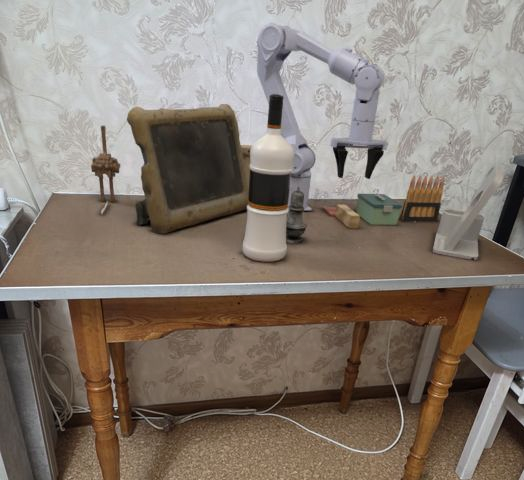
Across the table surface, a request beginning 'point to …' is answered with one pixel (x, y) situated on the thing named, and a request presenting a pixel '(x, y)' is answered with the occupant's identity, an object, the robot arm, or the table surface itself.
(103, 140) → the ostrich figurine
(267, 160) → the vodka
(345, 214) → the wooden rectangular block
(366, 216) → the tiffin box
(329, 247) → the table surface
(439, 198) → the ammunition clip
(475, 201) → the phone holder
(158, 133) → the tablet
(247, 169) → the handle
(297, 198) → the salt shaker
